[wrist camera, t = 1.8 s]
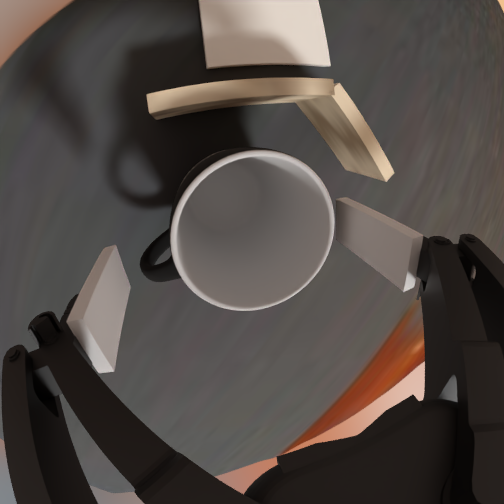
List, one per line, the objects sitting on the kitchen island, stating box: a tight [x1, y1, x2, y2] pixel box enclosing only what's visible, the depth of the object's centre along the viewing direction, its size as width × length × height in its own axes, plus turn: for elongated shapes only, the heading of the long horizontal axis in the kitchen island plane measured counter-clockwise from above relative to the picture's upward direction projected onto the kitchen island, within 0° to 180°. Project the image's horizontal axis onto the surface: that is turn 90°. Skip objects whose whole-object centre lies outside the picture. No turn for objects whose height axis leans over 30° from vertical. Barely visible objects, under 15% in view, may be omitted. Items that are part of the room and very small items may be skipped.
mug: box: [140, 147, 335, 311], centre depth 18 cm, size 12×9×10 cm
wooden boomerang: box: [147, 78, 394, 182], centre depth 19 cm, size 18×8×6 cm, turn 97°
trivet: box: [198, 0, 331, 69], centre depth 16 cm, size 11×11×1 cm
